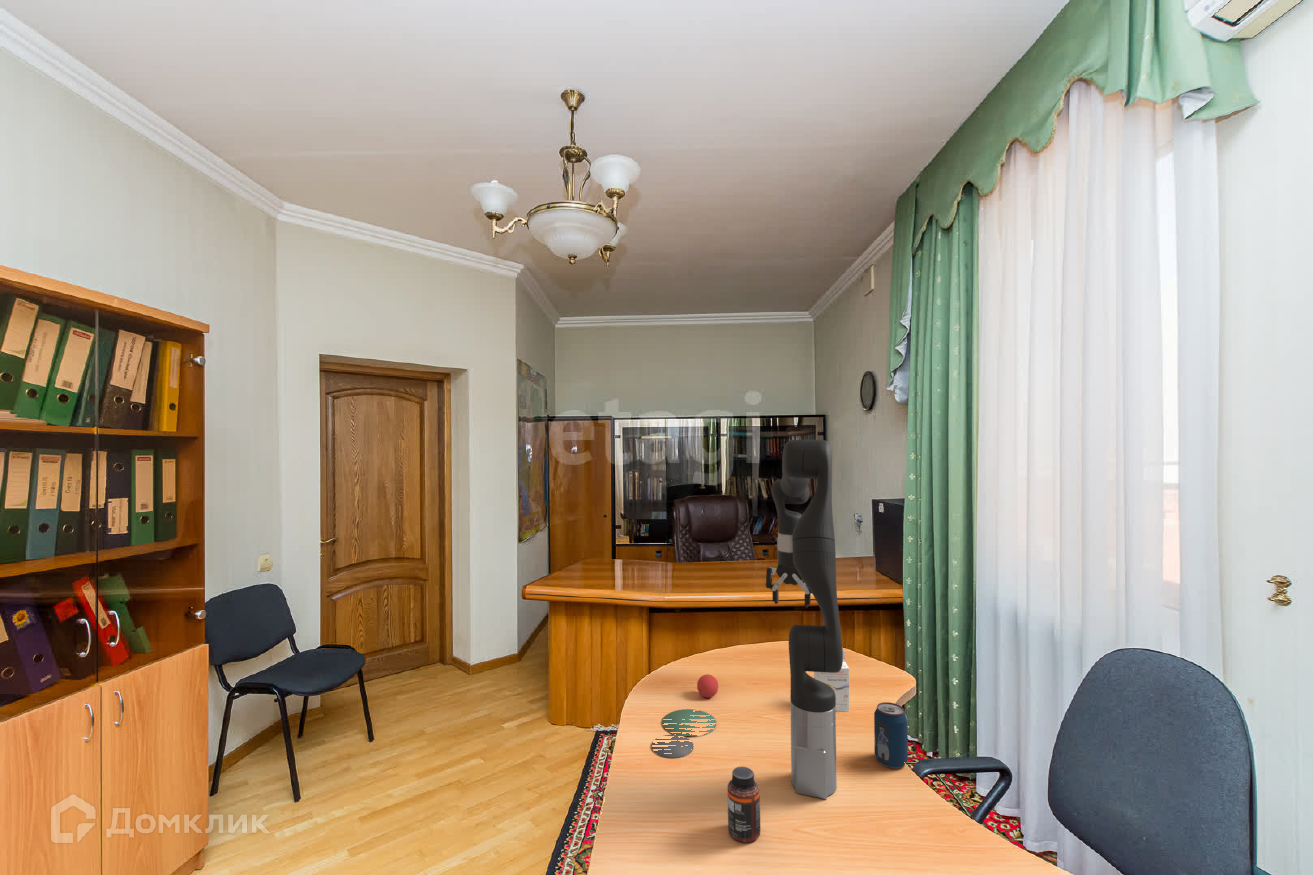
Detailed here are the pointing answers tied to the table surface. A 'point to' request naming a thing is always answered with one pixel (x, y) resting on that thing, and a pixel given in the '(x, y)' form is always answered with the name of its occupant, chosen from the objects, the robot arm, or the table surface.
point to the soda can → (890, 735)
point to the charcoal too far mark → (674, 747)
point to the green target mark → (686, 721)
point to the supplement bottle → (743, 805)
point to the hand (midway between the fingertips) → (791, 604)
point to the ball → (707, 686)
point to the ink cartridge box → (837, 685)
